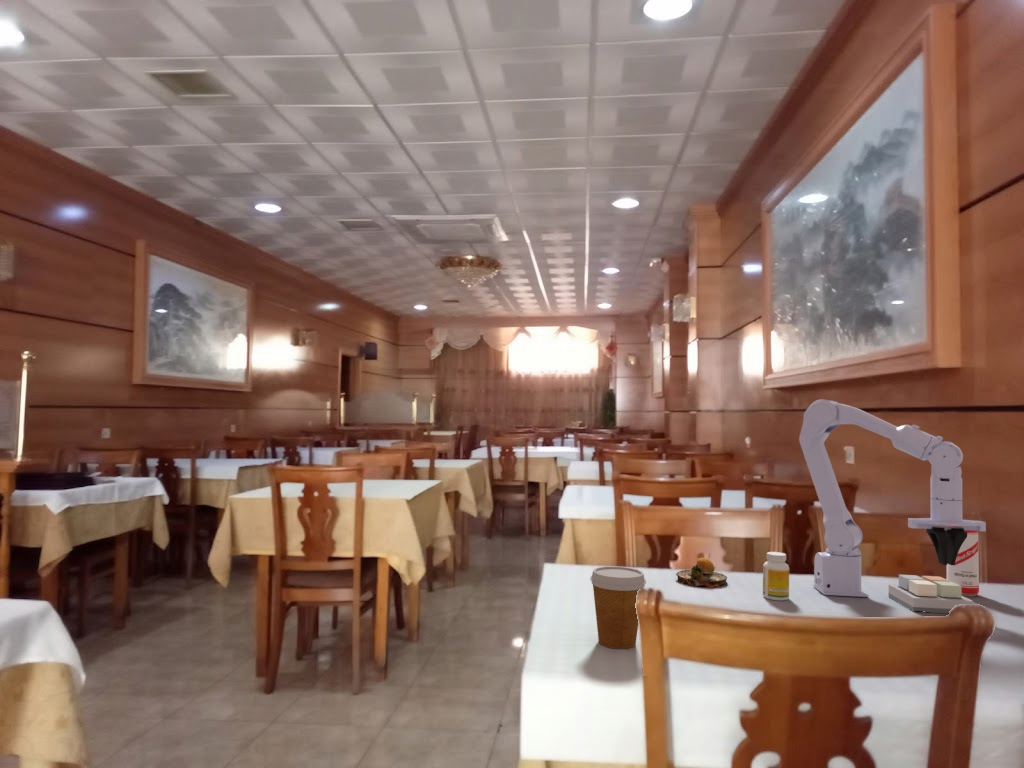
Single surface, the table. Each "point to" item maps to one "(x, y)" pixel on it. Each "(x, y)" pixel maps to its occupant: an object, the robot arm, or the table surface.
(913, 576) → the key slate
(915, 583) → the key cream
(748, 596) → the table surface
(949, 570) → the beer can
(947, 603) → the keypad
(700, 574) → the plate of food
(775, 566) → the supplement bottle
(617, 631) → the disposable coffee cup
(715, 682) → the table surface
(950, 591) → the key sage
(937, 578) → the key terracotta
